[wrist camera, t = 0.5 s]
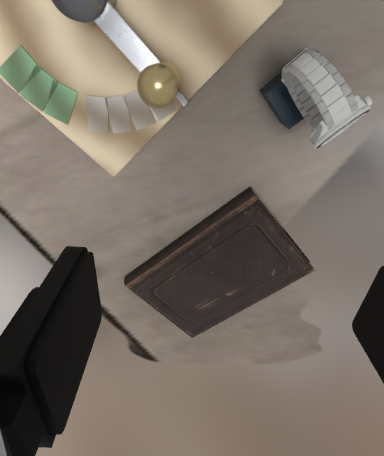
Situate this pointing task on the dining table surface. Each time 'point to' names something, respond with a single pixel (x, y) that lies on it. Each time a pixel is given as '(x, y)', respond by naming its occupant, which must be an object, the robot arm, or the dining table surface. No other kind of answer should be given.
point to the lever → (129, 49)
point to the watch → (314, 97)
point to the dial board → (117, 65)
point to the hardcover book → (220, 266)
